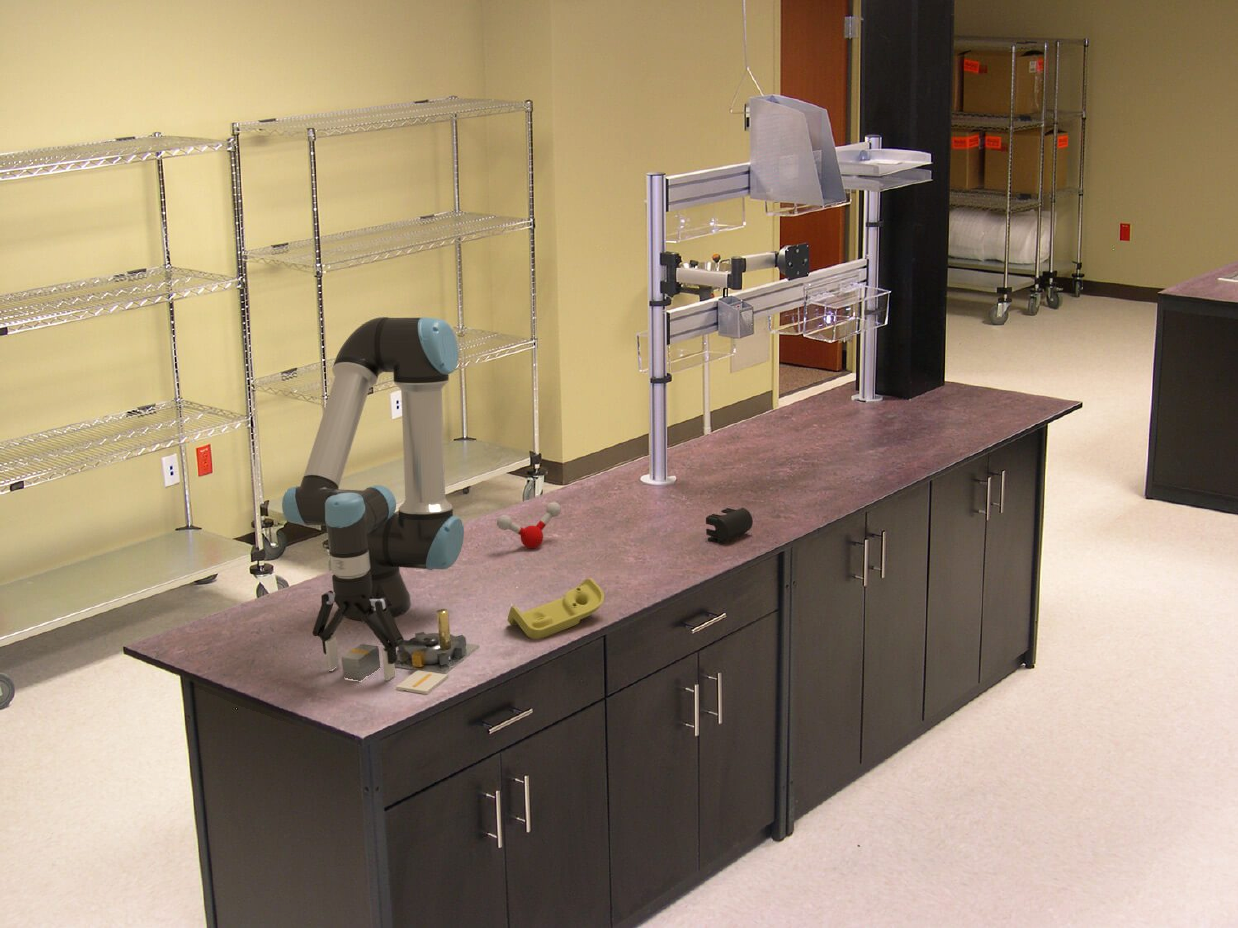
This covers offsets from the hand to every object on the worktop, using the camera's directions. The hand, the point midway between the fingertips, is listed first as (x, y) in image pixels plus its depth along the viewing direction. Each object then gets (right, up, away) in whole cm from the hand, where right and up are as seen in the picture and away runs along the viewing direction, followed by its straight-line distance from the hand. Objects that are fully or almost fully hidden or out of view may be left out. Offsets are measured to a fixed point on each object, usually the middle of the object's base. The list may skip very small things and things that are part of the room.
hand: (361, 673), depth 294 cm
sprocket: (+13, +3, +7) cm, 15 cm away
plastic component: (+38, +7, +21) cm, 44 cm away
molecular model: (+30, +21, +68) cm, 77 cm away
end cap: (+78, +23, +67) cm, 106 cm away
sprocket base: (+13, +3, +7) cm, 15 cm away
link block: (0, 0, 0) cm, 0 cm away
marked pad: (+13, -1, -5) cm, 14 cm away
